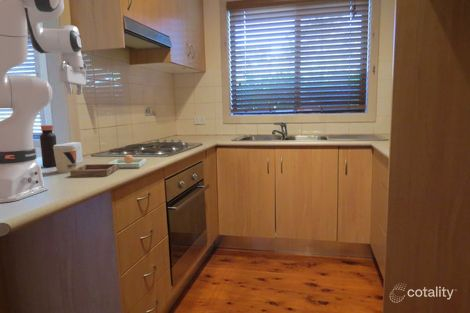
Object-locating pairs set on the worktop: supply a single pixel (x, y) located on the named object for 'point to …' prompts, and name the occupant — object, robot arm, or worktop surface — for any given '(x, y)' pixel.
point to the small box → (78, 151)
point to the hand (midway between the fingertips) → (74, 94)
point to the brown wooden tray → (94, 170)
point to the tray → (135, 164)
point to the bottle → (48, 146)
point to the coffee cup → (65, 157)
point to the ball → (128, 159)
